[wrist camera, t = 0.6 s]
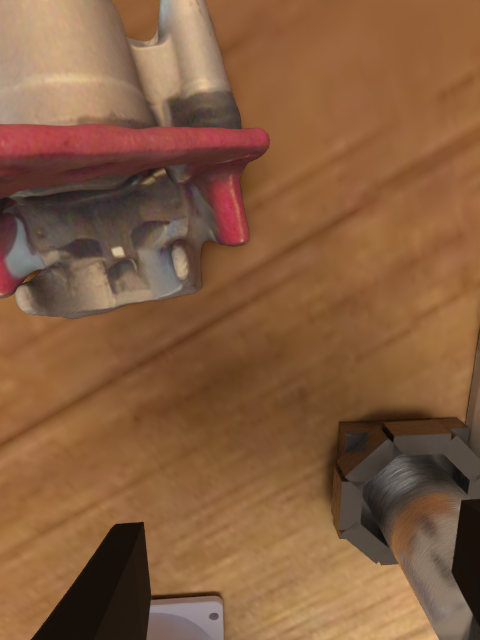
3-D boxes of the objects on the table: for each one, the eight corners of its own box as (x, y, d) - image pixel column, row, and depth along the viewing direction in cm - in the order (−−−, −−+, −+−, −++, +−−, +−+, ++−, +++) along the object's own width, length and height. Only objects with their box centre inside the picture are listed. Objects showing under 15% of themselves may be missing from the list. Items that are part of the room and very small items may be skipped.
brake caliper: (12, 399, 15) (-693, 192, 4) (15, 185, 19) (-328, -204, 8) (293, 334, 15) (348, -41, 4) (236, 135, 19) (187, -315, 8)
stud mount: (450, 524, 21) (476, 558, 19) (324, 532, 21) (336, 568, 19) (468, 408, 19) (499, 431, 17) (330, 413, 19) (344, 438, 17)
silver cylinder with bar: (436, 520, 20) (563, 691, 13) (359, 524, 19) (444, 701, 12) (447, 443, 19) (592, 583, 11) (366, 447, 18) (462, 592, 11)
